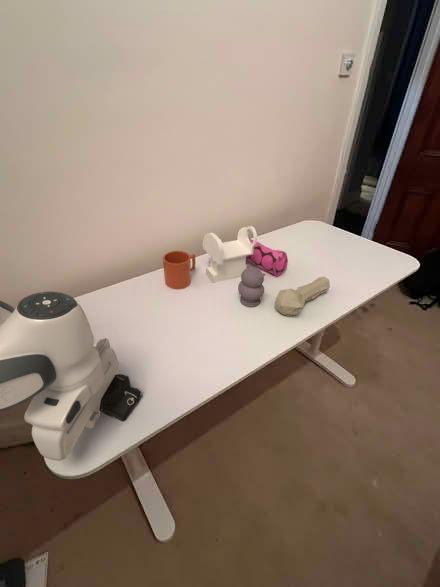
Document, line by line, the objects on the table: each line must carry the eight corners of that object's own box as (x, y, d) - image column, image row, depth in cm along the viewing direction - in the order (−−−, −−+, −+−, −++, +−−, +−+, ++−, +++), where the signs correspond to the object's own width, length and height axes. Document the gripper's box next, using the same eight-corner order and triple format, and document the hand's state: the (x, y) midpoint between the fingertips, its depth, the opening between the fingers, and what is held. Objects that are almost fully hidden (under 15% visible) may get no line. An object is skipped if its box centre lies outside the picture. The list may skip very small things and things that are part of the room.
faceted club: (265, 306, 93) (313, 281, 107) (284, 326, 89) (331, 298, 103) (276, 287, 86) (325, 263, 100) (297, 308, 83) (345, 280, 97)
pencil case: (229, 257, 117) (230, 234, 111) (245, 249, 123) (248, 226, 117) (273, 281, 105) (277, 256, 99) (289, 271, 111) (294, 247, 105)
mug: (175, 292, 98) (173, 267, 92) (159, 280, 103) (157, 256, 97) (203, 279, 105) (203, 255, 99) (187, 268, 110) (186, 245, 104)
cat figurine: (231, 298, 97) (234, 266, 90) (249, 290, 101) (253, 258, 94) (249, 312, 91) (253, 280, 84) (267, 303, 95) (273, 271, 88)
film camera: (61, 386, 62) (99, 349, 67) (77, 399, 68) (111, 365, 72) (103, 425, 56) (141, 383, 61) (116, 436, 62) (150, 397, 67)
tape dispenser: (237, 262, 115) (241, 217, 104) (254, 280, 105) (260, 233, 95) (202, 270, 109) (203, 223, 99) (217, 289, 100) (220, 240, 89)
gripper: (90, 330, 60) (104, 375, 68) (14, 427, 43) (44, 470, 52) (120, 335, 59) (130, 380, 67) (54, 436, 43) (78, 479, 51)
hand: (92, 420), depth 59 cm, fingers closed
